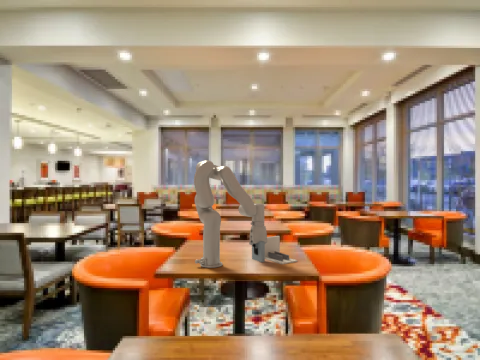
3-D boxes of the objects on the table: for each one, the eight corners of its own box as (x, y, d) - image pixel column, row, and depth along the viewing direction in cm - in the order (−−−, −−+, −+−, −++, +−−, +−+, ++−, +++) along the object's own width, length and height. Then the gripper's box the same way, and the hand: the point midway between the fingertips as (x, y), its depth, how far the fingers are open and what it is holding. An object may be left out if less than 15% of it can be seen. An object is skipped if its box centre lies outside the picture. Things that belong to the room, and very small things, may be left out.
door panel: (259, 262, 185) (259, 242, 185) (250, 259, 193) (250, 239, 193) (264, 261, 187) (264, 241, 187) (255, 258, 195) (255, 239, 195)
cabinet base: (281, 264, 181) (281, 242, 181) (263, 258, 196) (263, 237, 196) (297, 261, 187) (297, 240, 187) (278, 255, 202) (278, 235, 202)
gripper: (250, 225, 183) (250, 257, 183) (272, 223, 191) (272, 253, 191) (243, 224, 189) (243, 254, 189) (265, 222, 198) (265, 251, 198)
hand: (258, 253), depth 190 cm, fingers closed on door panel, 2 cm apart
